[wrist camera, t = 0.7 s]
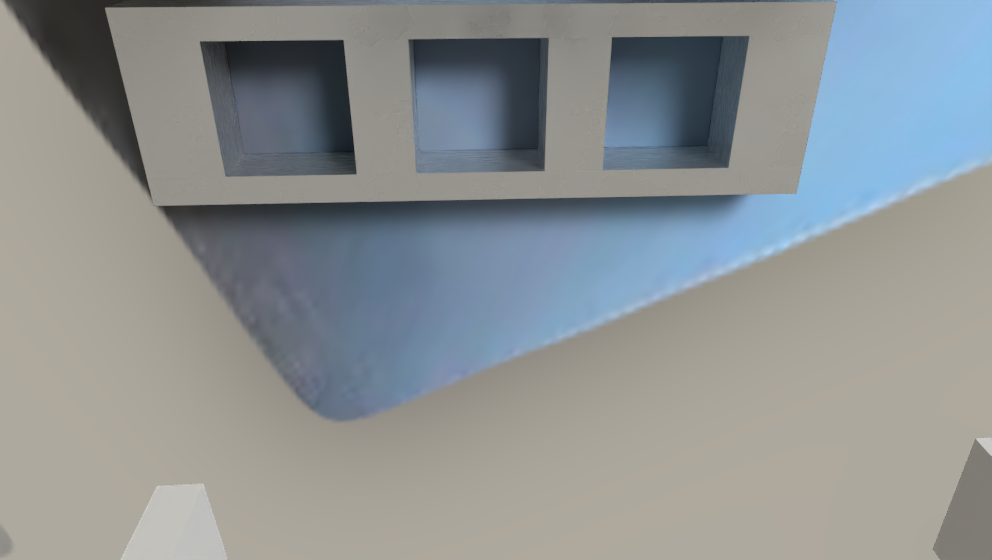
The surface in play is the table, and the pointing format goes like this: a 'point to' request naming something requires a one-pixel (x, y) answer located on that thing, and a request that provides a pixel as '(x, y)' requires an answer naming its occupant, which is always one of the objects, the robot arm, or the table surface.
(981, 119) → the table surface
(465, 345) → the table surface
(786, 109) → the white holed flat block
